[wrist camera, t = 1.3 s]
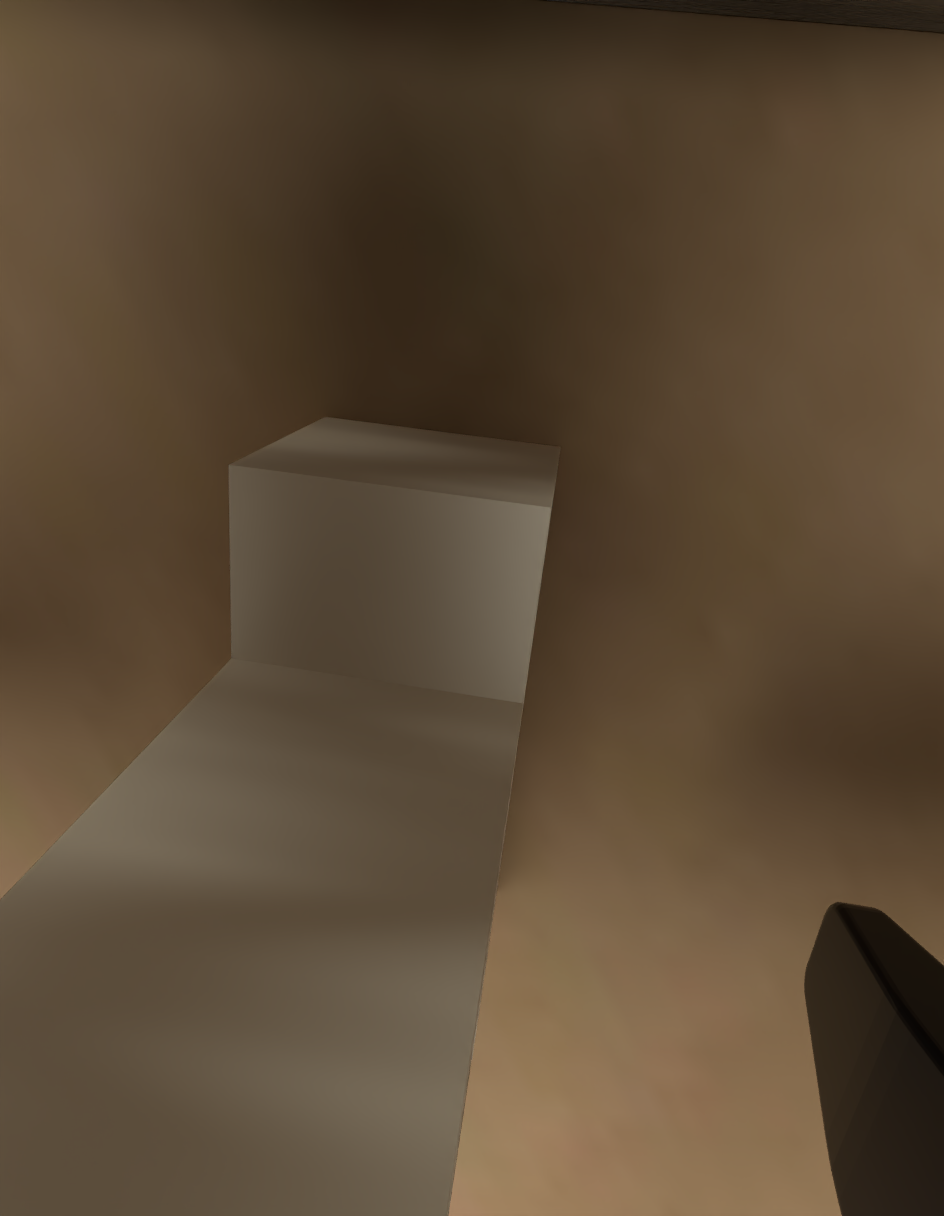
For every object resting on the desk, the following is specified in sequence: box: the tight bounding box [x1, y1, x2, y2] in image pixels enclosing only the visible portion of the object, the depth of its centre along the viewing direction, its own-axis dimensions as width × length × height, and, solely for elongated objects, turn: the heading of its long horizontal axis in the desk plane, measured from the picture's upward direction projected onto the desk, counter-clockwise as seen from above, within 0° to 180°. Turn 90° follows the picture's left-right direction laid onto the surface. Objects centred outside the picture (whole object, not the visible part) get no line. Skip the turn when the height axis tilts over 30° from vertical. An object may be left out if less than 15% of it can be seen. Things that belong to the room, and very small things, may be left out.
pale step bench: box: [0, 417, 561, 1216], centre depth 7 cm, size 3×7×9 cm, turn 174°
